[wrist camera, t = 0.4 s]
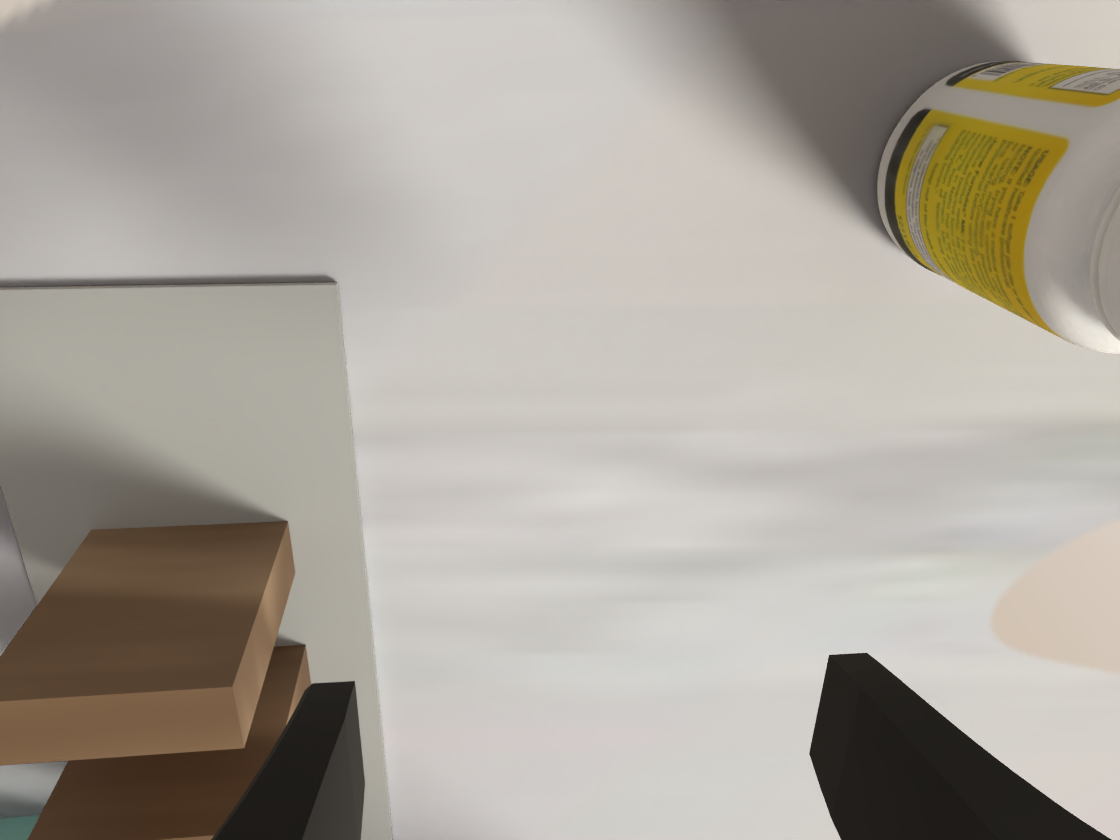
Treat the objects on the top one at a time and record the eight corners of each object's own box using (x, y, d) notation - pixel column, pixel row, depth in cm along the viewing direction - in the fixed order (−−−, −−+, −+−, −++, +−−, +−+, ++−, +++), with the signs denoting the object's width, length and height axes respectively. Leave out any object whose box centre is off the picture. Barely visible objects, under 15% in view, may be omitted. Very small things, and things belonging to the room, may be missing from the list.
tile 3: (311, 689, 24) (270, 882, 19) (135, 700, 24) (40, 902, 18) (305, 644, 24) (260, 831, 18) (123, 655, 23) (21, 850, 18)
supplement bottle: (936, 306, 21) (1195, 464, 14) (833, 166, 20) (1067, 259, 12) (1102, 170, 20) (1480, 262, 13) (1008, 9, 19) (1385, 5, 11)
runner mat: (400, 912, 29) (399, 918, 29) (141, 936, 28) (139, 942, 28) (337, 282, 20) (336, 284, 19) (-54, 288, 19) (-59, 290, 18)
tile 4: (295, 572, 22) (244, 748, 17) (104, 582, 22) (-11, 766, 17) (288, 521, 22) (232, 686, 16) (91, 529, 21) (-34, 704, 16)
